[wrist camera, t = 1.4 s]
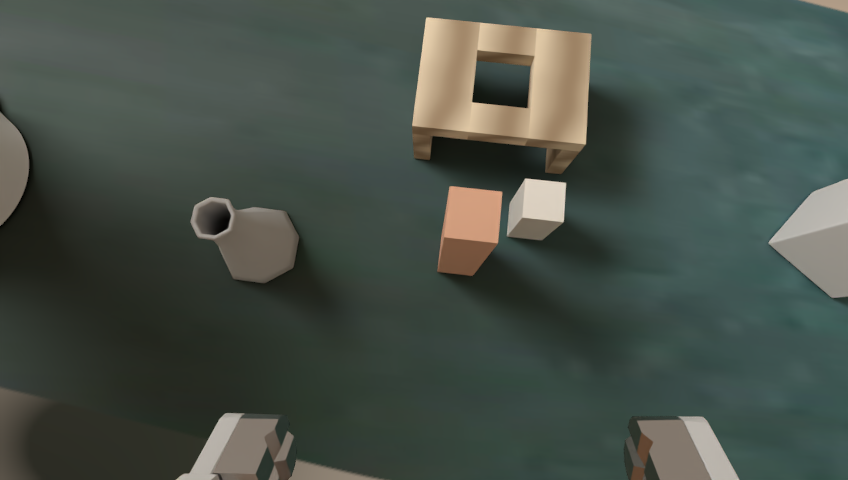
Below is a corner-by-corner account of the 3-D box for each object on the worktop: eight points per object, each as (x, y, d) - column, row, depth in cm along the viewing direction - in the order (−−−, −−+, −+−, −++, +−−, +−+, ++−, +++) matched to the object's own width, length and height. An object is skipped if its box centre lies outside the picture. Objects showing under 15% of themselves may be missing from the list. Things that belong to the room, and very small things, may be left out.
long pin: (437, 271, 42) (444, 237, 28) (441, 237, 43) (449, 185, 28) (472, 276, 42) (497, 243, 28) (475, 241, 43) (502, 191, 28)
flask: (217, 214, 44) (158, 179, 34) (294, 200, 44) (257, 161, 34) (225, 291, 42) (165, 277, 32) (305, 276, 42) (269, 257, 33)
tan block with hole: (414, 158, 45) (412, 125, 38) (426, 64, 47) (426, 17, 40) (561, 174, 44) (585, 144, 37) (566, 78, 46) (591, 33, 39)
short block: (507, 236, 43) (522, 217, 36) (509, 203, 44) (525, 178, 37) (541, 240, 43) (563, 222, 36) (543, 207, 44) (566, 182, 37)
